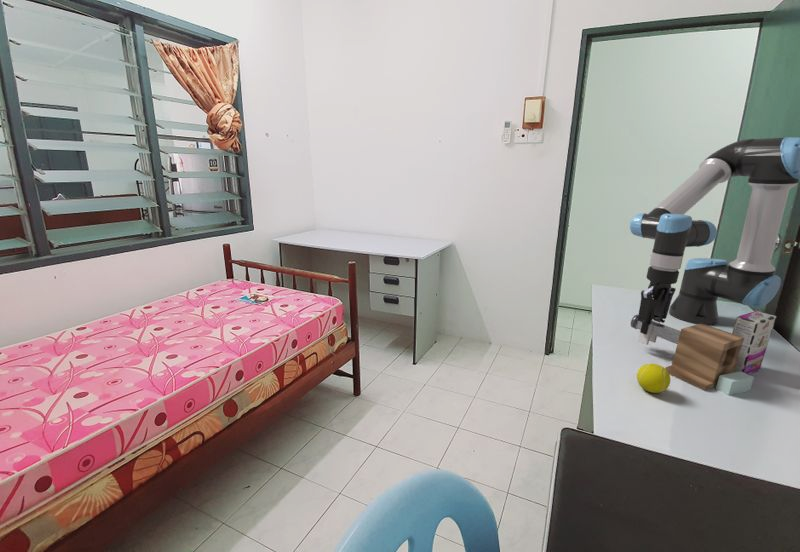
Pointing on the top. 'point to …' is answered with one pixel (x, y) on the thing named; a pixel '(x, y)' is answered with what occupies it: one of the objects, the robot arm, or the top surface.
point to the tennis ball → (653, 378)
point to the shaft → (659, 330)
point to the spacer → (734, 383)
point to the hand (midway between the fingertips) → (646, 341)
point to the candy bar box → (753, 339)
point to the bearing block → (705, 355)
